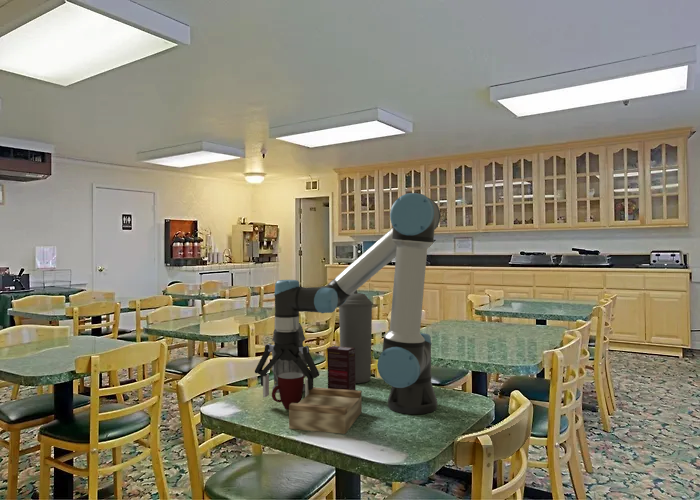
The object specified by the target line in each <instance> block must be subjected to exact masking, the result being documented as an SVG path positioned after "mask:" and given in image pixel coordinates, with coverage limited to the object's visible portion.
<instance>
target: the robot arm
mask: <svg viewBox="0 0 700 500" xmlns="http://www.w3.org/2000/svg"><path fill="white" fill-rule="evenodd" d="M389 213H390V214H389V217H390V223H391V225H392V228H391V229H389V230H387V232H386V233H385V234H383V236H381V237H380V238H379V239H378V240H377V241H375V242H374V244H372V245H371V246H370V247H369V248H367V249H366V250H365V251H364V252H362V254H361V255H360V256H359V257H357V258H356V259H354V261H352V262H351V263H350V264H349V265H347V267H345V268H344V269H343V270H342V271H341V272H340V273H339V274H337V275H336V276H335V278H333V279H332V280H331V281H330V282H328V283H327V284H326V285H321V286H315V287H313V286H312V287H311V286H310V287H308V286H301V285H300V281H299V280H297V279H278V280H277V281H276V282H275V284H274V294H273V297H274V330H275V329H276V331H275V345H274V344H272V343H267V344H265V345H264V350H263V354H262V356H261V358H260V359H259V362H258V364H257V366H256V367H255V370H254V373H255V374H258V375H259V376H260V386H261V387H262V398H267V397H268V396H269V395H270V374H269V373H268V372H269V371H270V370H271V369H272V366H273V365H274V364H275V363H276V362H277V361H278V360H279V359H280V360H287V361H291V360H293V361H294V362H295V363H296V364H297V365H298V367H299V368H300V369H301V371H302V372H303V373H304V374H305V376H306V377H305V378H306V379H304V384H305V391H304V398H305V397H306V396H307V395H308V394H309V390H312V389H313V387H314V379H316V378H318V377H319V376H320V372H319V370H318V368H317V366H316V364H315V361H314V360H313V357H312V355H311V353H310V347H309V346H308V345H305V346H304V347H300V346H299V331H298V330H297V329H299V324H300V312H301V313H302V312H307V313H318V314H319V313H320V314H327V313H328V314H332V313H334V312H335V311H336V309H337V308H339V306H340V305H342V304H343V303H344V302H345V301H346V299H347V298H348V297H349V296H350V295H351V294H352V293H353V292H355V291H356V290H357V291H358V289H360V288H361V287H362V286H363V285H365V283H366V282H368V281H369V280H370V279H371V278H372V277H374V276H375V275H376V274H378V272H380V271H381V270H382V269H383V268H385V267H386V266H387V265H388V264H389V263H390V262H392V261H393V260H394V259H395V263H394V266H395V267H394V275H393V287H392V288H393V289H392V299H391V309H390V310H391V312H390V323H389V330H388V331H386V333H384V334H383V342H382V352H381V353H380V355H379V356H378V360H377V372H378V374H379V376H380V378H381V379H382V380H383V381H384V382H385V384H387V385H388V386H390V387H391V389H390V392H389V395H388V397H387V407H388V409H390V410H391V411H392V412H393V411H394V412H396V413H400V414H407V415H424V414H425V415H426V414H430V413H432V412H434V411H436V410H437V409H438V399H437V396H436V393H435V390H434V389H435V388H434V387H433V384H432V345H433V344H432V337H431V335H430V334H429V333H426V332H421V324H422V323H421V322H422V314H423V313H422V312H423V301H424V291H425V290H424V289H425V280H426V279H425V278H426V267H427V255H428V249H429V248H430V247H431V246H432V245H433V244H434V238H435V230H436V229H437V228H438V226H439V225H440V222H441V211H440V207H439V205H438V204H437V203H436V202H435V201H434V199H431V198H430V197H427V195H425V194H422V193H417V192H409V193H405V194H403V195H401V196H400V197H398V198H397V199H396V200H395V201H394V202H393V203H392V205H391V208H390V211H389ZM273 349H274V351H275V353H276V355H275V356H274V357H273V358H272V357H271V360H270V361H269V362H268V363H267V364H266V362H267V361H268V358H269V356H270V354H271V353H272V350H273ZM300 351H301V353H302V354H303V356H304V358H305V360H306V362H307V366H306V364H305V363H304V362H303V361H302V359H301V357H300V356H299V354H298V353H299V352H300ZM265 364H266V365H265Z"/></svg>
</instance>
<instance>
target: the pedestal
mask: <svg viewBox="0 0 700 500" xmlns="http://www.w3.org/2000/svg"><path fill="white" fill-rule="evenodd" d="M362 399H363V398H362V390H344V389H330V388H328V387H317V386H315V387H314V386H313V389H312V390H309V394H308V395H307V396H306V397H305V396H304V398H303V397H302V398H301V401H300V402H299V403H291V404H289V409H288V427H289V429H291V430H300V431H312V432H323V433H333V434H342V435H346V434H347V433H348V431H349V430H350V429H351V427H352V426H353V425H354V423H355V422H356V421H357V420H358V418H359V416H360V415H361V414H362V412H363V410H362V407H363V406H362V405H363V403H362Z"/></svg>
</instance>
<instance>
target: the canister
mask: <svg viewBox="0 0 700 500" xmlns="http://www.w3.org/2000/svg"><path fill="white" fill-rule="evenodd" d="M338 316H339V317H338V319H339V321H338V322H339V346H340V347H350V348H355V384H364V383H367V382H369V381H371V374H372V373H371V372H372V366H371V365H372V330H373V329H372V328H373V326H372V325H373V323H372V321H373V319H372V318H373V302H372V301H371V299H370V298H368V296H367V295H366V294H364V293H361V292H360V293H359V292H358V289H357V290H356V291H355V292H353V293H352V294H351V295H350V296H349V297H348V298H347V299H346V301H345V302H344V303H343V304H342V305H340V306H338Z"/></svg>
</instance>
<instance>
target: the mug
mask: <svg viewBox="0 0 700 500" xmlns="http://www.w3.org/2000/svg"><path fill="white" fill-rule="evenodd" d="M304 384H305V378H304V375H303V374H302V373H297V372H288V373H282V374H279V375H278V386H276V387H275V388H274V389H273V388H272V389H273V391H271V398H272V400H273V401H274V402H276V403H282V406H283V407H284V409H286V410H289V404H291V403H299V402H300V401H301V400H302V399H303V392H304V391H303V386H304ZM278 389H279V392H278V393H279V398H280V399H277V397H276V393H277V392H276V391H277V390H278Z"/></svg>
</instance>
